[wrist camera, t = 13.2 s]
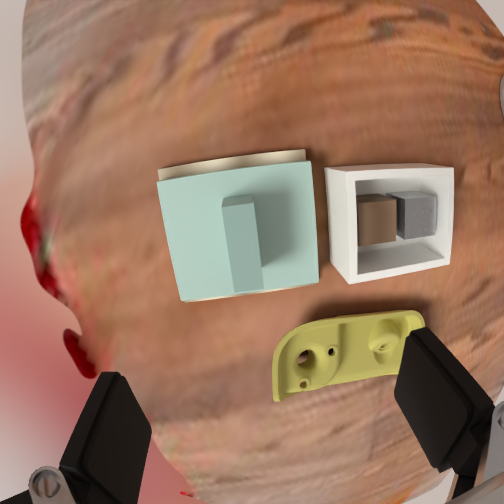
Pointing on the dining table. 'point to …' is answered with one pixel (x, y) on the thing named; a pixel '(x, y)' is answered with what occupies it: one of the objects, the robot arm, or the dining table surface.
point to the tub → (400, 251)
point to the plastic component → (341, 350)
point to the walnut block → (375, 219)
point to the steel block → (414, 214)
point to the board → (231, 164)
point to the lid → (241, 229)
